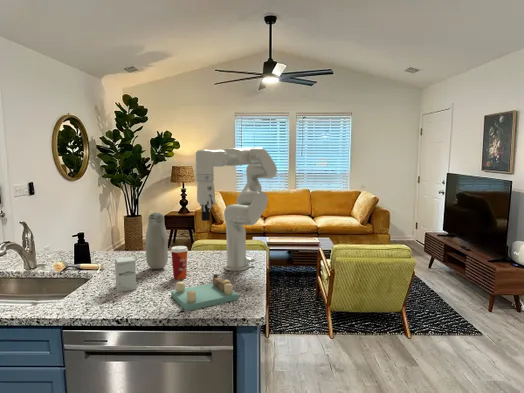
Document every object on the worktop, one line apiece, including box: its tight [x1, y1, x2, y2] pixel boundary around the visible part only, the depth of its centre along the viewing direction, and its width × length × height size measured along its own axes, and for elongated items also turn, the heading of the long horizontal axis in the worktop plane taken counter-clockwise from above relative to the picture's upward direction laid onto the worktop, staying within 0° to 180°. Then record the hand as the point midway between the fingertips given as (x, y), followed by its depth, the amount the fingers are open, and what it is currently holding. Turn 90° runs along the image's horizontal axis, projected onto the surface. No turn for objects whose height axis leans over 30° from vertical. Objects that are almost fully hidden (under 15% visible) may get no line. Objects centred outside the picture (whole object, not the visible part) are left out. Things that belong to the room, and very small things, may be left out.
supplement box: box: [114, 256, 137, 293], centre depth 153 cm, size 7×7×13 cm
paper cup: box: [170, 245, 189, 280], centre depth 167 cm, size 8×8×14 cm
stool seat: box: [170, 279, 239, 312], centre depth 143 cm, size 21×17×6 cm
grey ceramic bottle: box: [144, 212, 169, 270], centre depth 180 cm, size 10×10×28 cm
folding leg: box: [212, 273, 230, 292], centre depth 148 cm, size 11×2×4 cm, turn 33°
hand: (205, 220), depth 161 cm, fingers closed
